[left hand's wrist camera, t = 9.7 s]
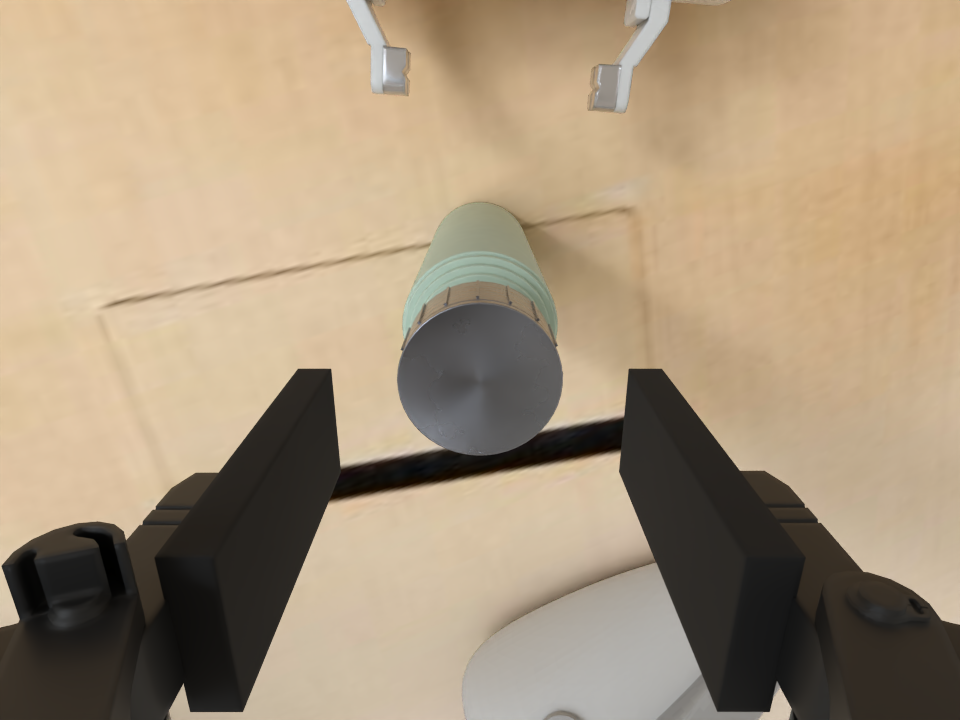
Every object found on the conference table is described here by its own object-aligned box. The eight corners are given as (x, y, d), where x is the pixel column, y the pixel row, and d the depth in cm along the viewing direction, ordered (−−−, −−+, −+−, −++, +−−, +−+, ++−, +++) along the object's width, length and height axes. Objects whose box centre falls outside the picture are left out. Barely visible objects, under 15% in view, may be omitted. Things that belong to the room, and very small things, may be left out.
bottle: (516, 192, 34) (558, 262, 16) (535, 284, 35) (591, 442, 18) (422, 214, 34) (358, 306, 16) (445, 304, 36) (411, 477, 18)
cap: (538, 265, 18) (547, 284, 15) (565, 402, 19) (576, 438, 17) (388, 298, 18) (376, 322, 16) (427, 430, 20) (420, 469, 17)
